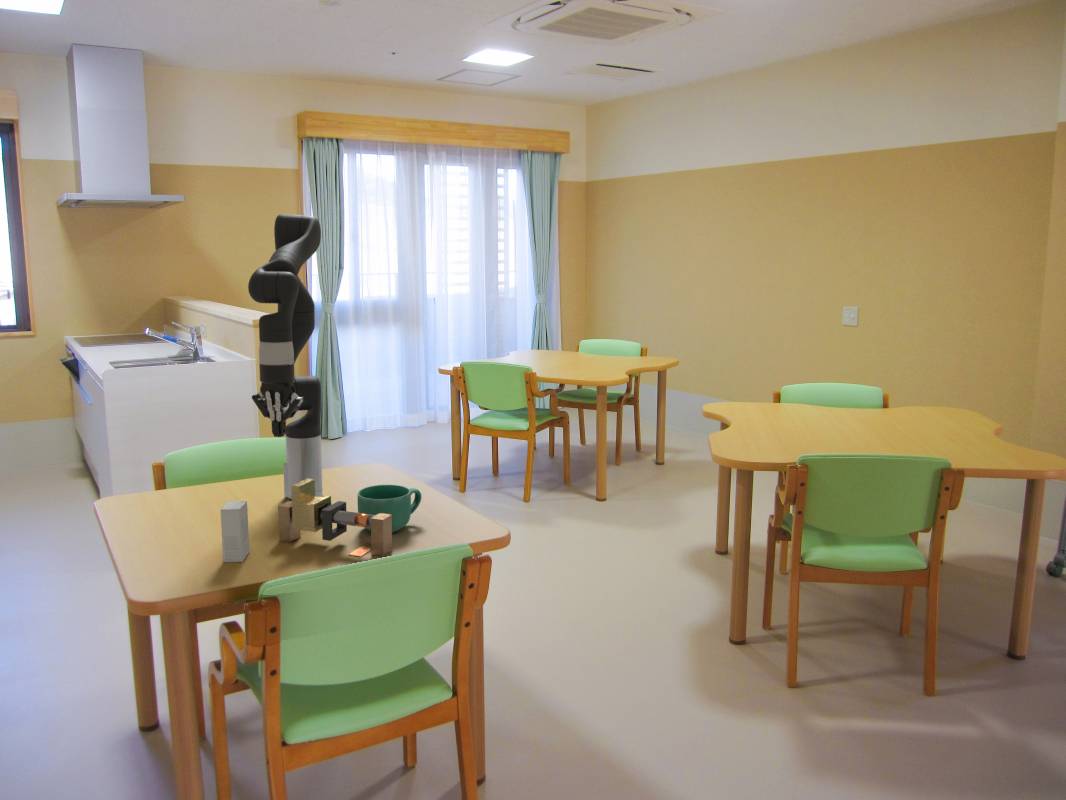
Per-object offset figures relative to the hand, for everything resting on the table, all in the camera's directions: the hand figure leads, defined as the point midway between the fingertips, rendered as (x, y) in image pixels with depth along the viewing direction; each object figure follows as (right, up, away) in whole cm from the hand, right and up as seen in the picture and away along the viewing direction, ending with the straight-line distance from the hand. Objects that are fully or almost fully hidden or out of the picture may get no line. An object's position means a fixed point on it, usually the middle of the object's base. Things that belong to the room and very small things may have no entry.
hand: (279, 436), depth 186 cm
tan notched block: (+7, -21, +1) cm, 22 cm away
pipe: (+13, -25, 0) cm, 28 cm away
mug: (+23, -23, +13) cm, 36 cm away
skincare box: (-7, -26, -8) cm, 28 cm away
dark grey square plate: (+13, -23, 0) cm, 26 cm away
